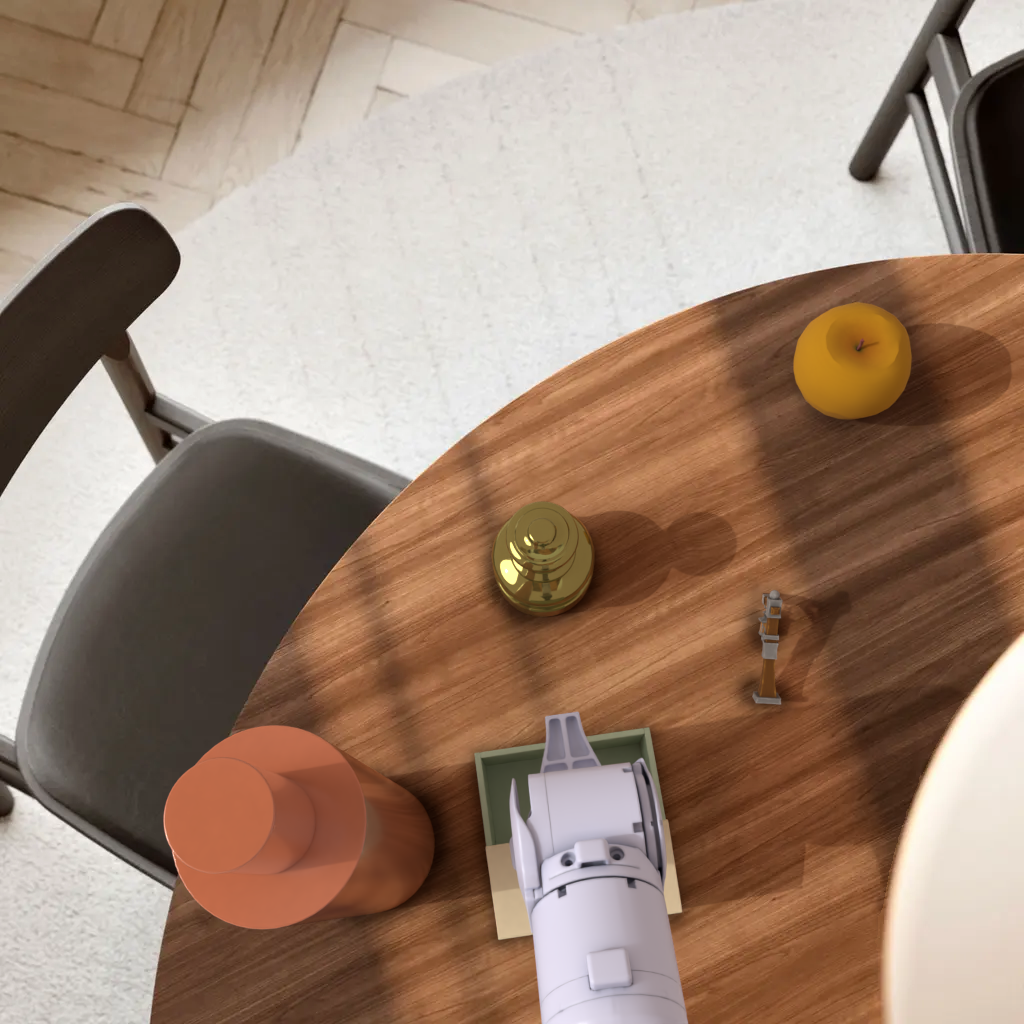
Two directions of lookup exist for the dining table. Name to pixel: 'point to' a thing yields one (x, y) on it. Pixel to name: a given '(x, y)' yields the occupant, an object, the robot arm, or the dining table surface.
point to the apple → (853, 361)
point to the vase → (294, 832)
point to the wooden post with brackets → (769, 648)
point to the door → (512, 904)
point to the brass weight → (543, 559)
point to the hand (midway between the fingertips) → (579, 848)
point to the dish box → (525, 760)
